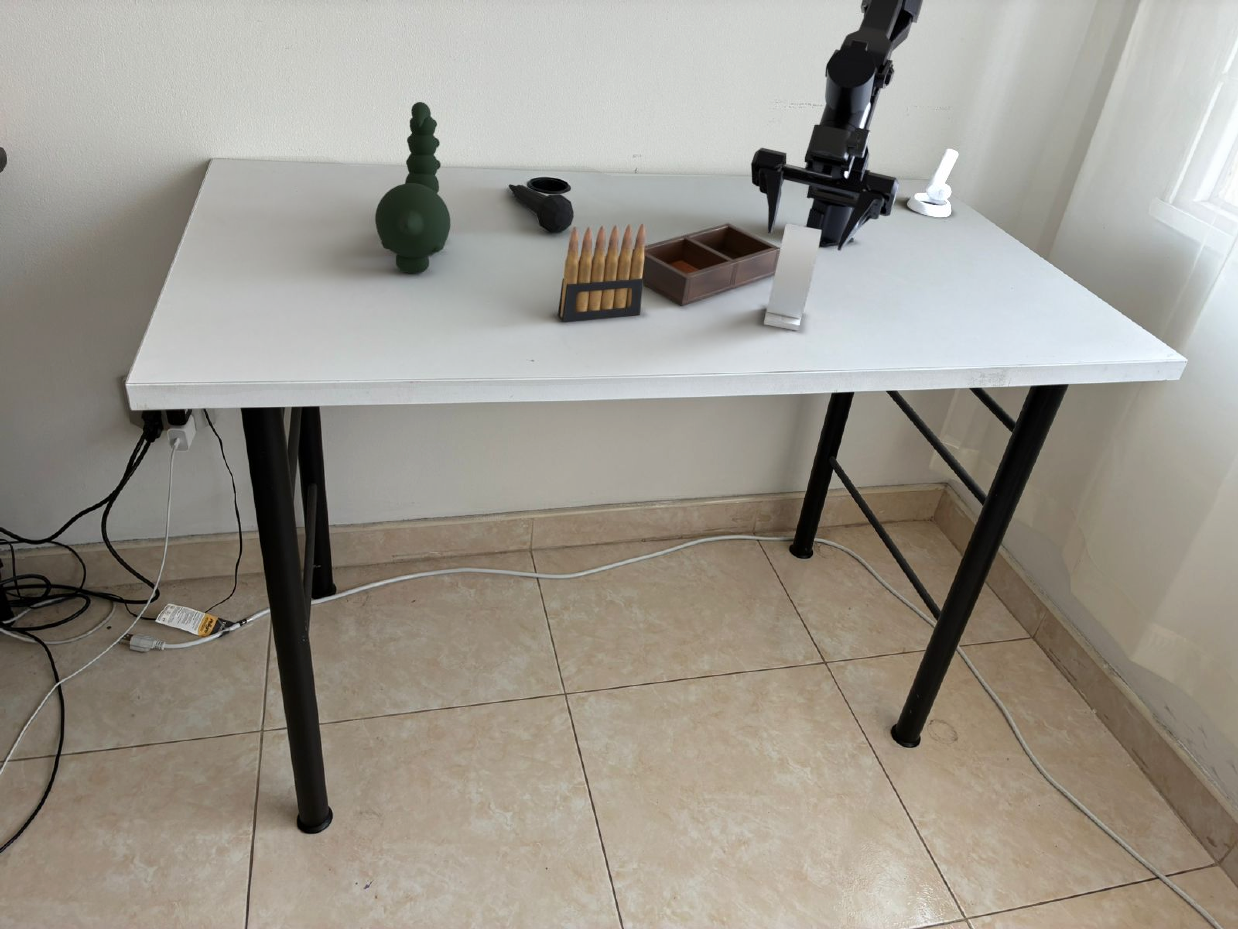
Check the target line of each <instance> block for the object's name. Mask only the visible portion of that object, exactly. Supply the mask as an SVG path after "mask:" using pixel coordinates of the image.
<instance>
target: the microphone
mask: <svg viewBox="0 0 1238 929" xmlns="http://www.w3.org/2000/svg"><path fill="white" fill-rule="evenodd" d="M508 189H509V190H510V191H511V192H512V193H511V194H512V195H513V197H514V198H515V199H517V201H519V202H520V204H522V205H524V206H525V207H526V208H527V209H529V210H530V211H531V212H532V213H533V214H534V215H535V216H536V219H537V222H538V226H539V227H540V228H542V229H543V230H545V231H546V232H548V233H549V234H558V233H559V234H560V233H562V232H565V231H566V230H567V229H568V228H569V227H570V226H571V225H572V223H573V221H574V217H575V215H574V213H575V211H574V208H573V205H572V204H573V203H572V201H570V200H569V199H568V198H566V196H564V195H563V194H561V193H556V194H548V195H547V194H544V193H542V192H539V191H537V190H535V189H533V188H530V187H528V186H525V185H523V184H517V185H514V184H508Z"/></svg>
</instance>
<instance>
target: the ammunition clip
mask: <svg viewBox="0 0 1238 929" xmlns="http://www.w3.org/2000/svg"><path fill="white" fill-rule="evenodd" d="M645 228H646V227H645V225H644V223H641V224H640V226H639V227H638V230H637V233H636V237H635V241H634V245H633V246H634V247H633V248H632V244H633V232H632V231H633V230H632V226H631V224H628V225H627V226H626V227H625V230H624V234H623V237H622V242H621V245H620V246H621V247H620V252H619V243H620V242H619V240H620V239H619V238H620V237H619V229H618V226H617V225H616V224H615V225H614V226H613V227H612V229H611V232H610V235H609V240H608V246H607V251H606V231H605V227H604V225H601V226H600V228H599V229H598V232H597V235H596V238H595V239H596V240H595V244H594V245H595V246H594V250H593V235H592V229H591V227H590V226H587V228H586V229H585V232H584V235H583V238H582V244H581V249H580V255H579V244H580V242H579V232H578V228H577V227H573V229H572V231H571V233H570V236H569V241H568V247H567V248H568V249H567V255H566V258H565V263H564V273H563V278H562V280H561V288H560V295H559V302H558V310H557V317H559V318H560V320H561V321H562V322H563V323H571V322H582V321H593V320H603V319H604V320H605V319H614V318H624V317H635V316H640V315H641V308H642V297H643V287H644V285H643V278H642V273H643V266H644V248H645V246H646V229H645ZM632 249H634V251H633V250H632ZM632 251H633V254H632ZM592 252H593V255H592Z"/></svg>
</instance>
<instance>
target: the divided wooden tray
mask: <svg viewBox="0 0 1238 929" xmlns="http://www.w3.org/2000/svg"><path fill="white" fill-rule="evenodd" d="M780 249H781V247H780V246H777V245H774V244H772V243H771V242H768V241H767V240H765V239H762V238H760V237H758V236H756V235H753V234H752V233H750V232H748V231H746V230H744V229H742V228H740V227H737V226H735V225H733V224H731V223H728V222H726V223H724V224H720V225H716V226H712V227H709V228H705V229H701V230H698V231H694V232H691V233H687V234H682V235H679V236H675V237H671V238H669V239H668V238H667V239H665V240H661V241H657V242H654V243H649V244H645V248H644V266H643V273H642V278H643V286H644V287H647V288H649V289H650V290H652V291H654V292H656V293H658V294H659V295H660V296H662V297H664V298H667V299H668V300H669V301H672V302H673V303H675V304H677V305H678V306H680V307H684V306H687V305H690V304H693V303H696V302H699V301H702V300H705V299H708V298H710V297H711V298H712V297H715V296H717V295H720V294H723V293H726V292H729V291H732V290H735V289H738V288H740V287H744V286H746V285H747V286H748V285H749V284H752V283H755V282H758V281H761V280H764V279H767V278H770V277H773V276H775V272H776V268H777V263H778V259H779V254H780ZM633 251H634V248H632V250H631V255H632V254H633Z"/></svg>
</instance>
